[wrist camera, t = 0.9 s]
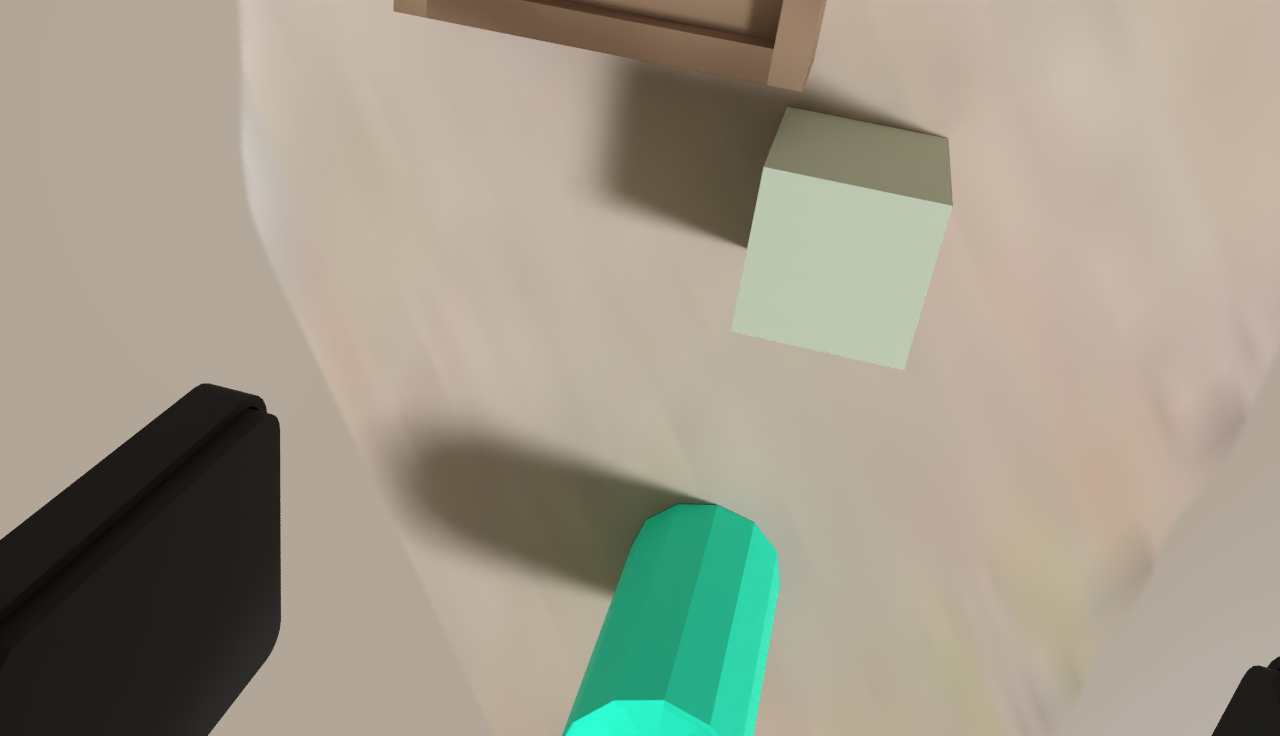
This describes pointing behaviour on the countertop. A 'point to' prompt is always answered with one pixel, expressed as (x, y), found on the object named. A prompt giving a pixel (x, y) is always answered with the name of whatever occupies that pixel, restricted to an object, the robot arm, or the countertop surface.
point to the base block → (660, 31)
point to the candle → (684, 631)
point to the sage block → (844, 237)
